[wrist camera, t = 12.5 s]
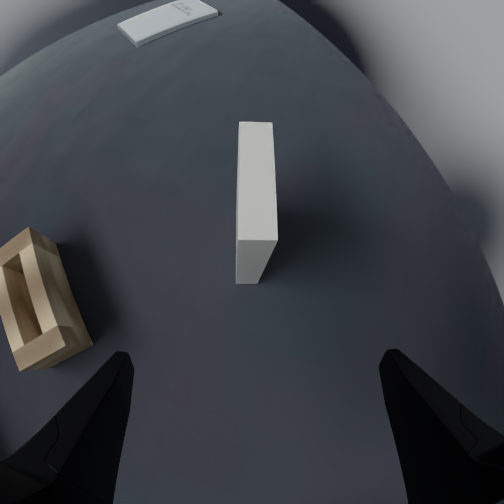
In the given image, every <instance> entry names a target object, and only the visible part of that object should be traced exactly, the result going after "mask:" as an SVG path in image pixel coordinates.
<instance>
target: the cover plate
mask: <svg viewBox="0 0 504 504" xmlns="http://www.w3.org/2000/svg"><path fill="white" fill-rule="evenodd" d="M277 241H278V228H277V204H276V182H275V163H274V145H273V128H272V123H266V122H239V139H238V169H237V203H236V284H258V281H259V279H260V277H261V275H262V273H263V271H264V269H265V267H266V265H267V262H268V260H269V258H270V256H271V254H272V252H273V250H274V248H275V245H276V243H277Z"/></svg>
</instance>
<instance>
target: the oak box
mask: <svg viewBox="0 0 504 504" xmlns="http://www.w3.org/2000/svg"><path fill="white" fill-rule="evenodd" d="M0 314H1V318H2V321H3V324H4V328H5V331H6V334H7V337H8V340H9V343H10V346H11V349H12V352H13V355H14V358H15V360H16V363H17V366H18V368H19V371H29V370H38V369H46V368H51V367H53V366H55V365H57V364H59V363H61V362H63V361H64V360H66V359H68V358H70V357H72V356H74V355H76V354H78V353H79V352H81V351H83V350H85V349H87V348H89V347H91V346H92V345H93V342H92V340H91V338H90V336H89V333H88V331H87V329H86V327H85V324H84V322H83V319H82V317H81V314H80V312H79V309H78V307H77V304H76V302H75V299H74V296H73V294H72V291H71V288H70V285H69V282H68V280H67V277H66V274H65V271H64V268H63V265H62V261H61V258H60V255H59V252H58V248H57V245H56V243H55V242H53V241H51V240H50V239H48V238H46V237H45V236H43V235H41V234H40V233H38V232H36V231H35V230H33V229H32V228H30V227H27V228H26V229H25V230H23V231H22V232H21V233H19V234H18V235H17V236H15V237H14V238H13V239H12V240H10V241H9V242H8V243H6V244H5V245H4V246H3V247H1V248H0Z"/></svg>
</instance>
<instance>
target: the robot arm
mask: <svg viewBox="0 0 504 504" xmlns="http://www.w3.org/2000/svg"><path fill="white" fill-rule="evenodd" d="M379 372H380V377H381V383H382V389H383V395H384V400H385V405H386V409H387V413H388V417H389V420H390V424H391V428H392V432H393V436H394V440H395V444H396V448H397V452H398V456H399V460H400V465H401V469H402V473H403V478H404V483H405V488H406V493H407V499H408V504H504V436H503V435H502V434H500V433H499V432H497V431H496V430H494V429H493V428H492V427H490V426H489V425H487V424H486V423H485V422H483V421H482V420H481V419H479V418H478V417H477V416H475V415H474V414H473V413H472V412H471V411H469V410H468V409H467V408H466V407H465V406H464V405H462V404H460V402H459V401H458V400H457V399H456V398H454V397H453V396H452V395H451V394H450V393H449V392H447V391H446V390H445V389H444V388H443V387H442V386H441V385H439V384H438V383H437V382H436V381H435V380H434V379H432V378H431V377H430V376H429V375H428V374H427V373H425V372H424V371H423V370H422V369H421V368H420V367H418V366H417V365H416V364H415V363H414V362H413V361H411V360H410V359H409V358H408V357H407V356H406V355H404V354H403V353H402V352H401V351H400V350H398V349H388V350H387V351H386V352H385V354H384V356H383V358H382V360H381V362H380V364H379ZM133 378H134V367H133V364H132V361H131V359H130V356H129V354H128V353H127V352H120V351H117V352H115V353H114V354H113V355H112V356H111V357H110V358H109V359H108V360H107V361H106V362H105V364H104V365H103V366H102V367H101V368H100V369H99V370H98V371H97V372H96V373H95V374H94V375H93V376H92V377H91V378H90V379H89V380H88V381H87V382H86V383H85V384H84V385H83V386H82V387H81V388H80V389H79V390H78V391H77V392H76V393H75V394H74V396H73V397H72V398H71V399H70V400H69V401H68V402H67V403H66V404H65V405H64V406H63V407H62V408H61V409H60V410H59V411H58V412H57V413H56V416H54V417H53V418H52V419H51V420H50V421H49V422H48V423H47V424H46V425H45V426H44V427H43V428H42V429H41V430H40V431H39V432H38V433H37V434H35V435H34V436H33V437H32V438H31V439H30V440H29V441H27V442H26V443H25V444H24V445H23V446H22V447H20V448H19V449H18V450H17V451H16V452H14V453H13V454H12V455H11V456H9V457H8V458H6V459H4V460H2V461H0V504H113V499H114V492H115V486H116V480H117V474H118V468H119V462H120V457H121V451H122V446H123V441H124V436H125V431H126V427H127V422H128V417H129V412H130V405H131V395H132V386H133Z"/></svg>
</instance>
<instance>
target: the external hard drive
mask: <svg viewBox="0 0 504 504" xmlns="http://www.w3.org/2000/svg"><path fill="white" fill-rule="evenodd" d="M216 16H218V11H217V10H216V9H214V8H213V7H211V6H209V5H207V4H205V3H204V2H202V1H200V0H178V1H174V2H171V3H169V4H166V5H163V6H160V7H157V8H155V9H152V10H149V11H147V12H144V13H142V14H139V15H137V16H135V17H132V18H130V19H128V20H125V21H123V22H121V23H119V24H117V27H118V29H119V30H120V31H121V32H122V33H123V34H124V35H125V36H126V37H127V38H128V39H129V40H130V41H131V42H132V43H133V44H134V45H135V46H136V47H139V46H141V45H144V44H146V43H148V42H150V41H152V40H155V39H157V38H159V37H161V36H164V35H166V34H169V33H171V32H174V31H176V30H179V29H181V28H184V27H187V26H189V25H192V24H195V23H198V22H201V21H204V20H207V19H210V18H213V17H216Z"/></svg>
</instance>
